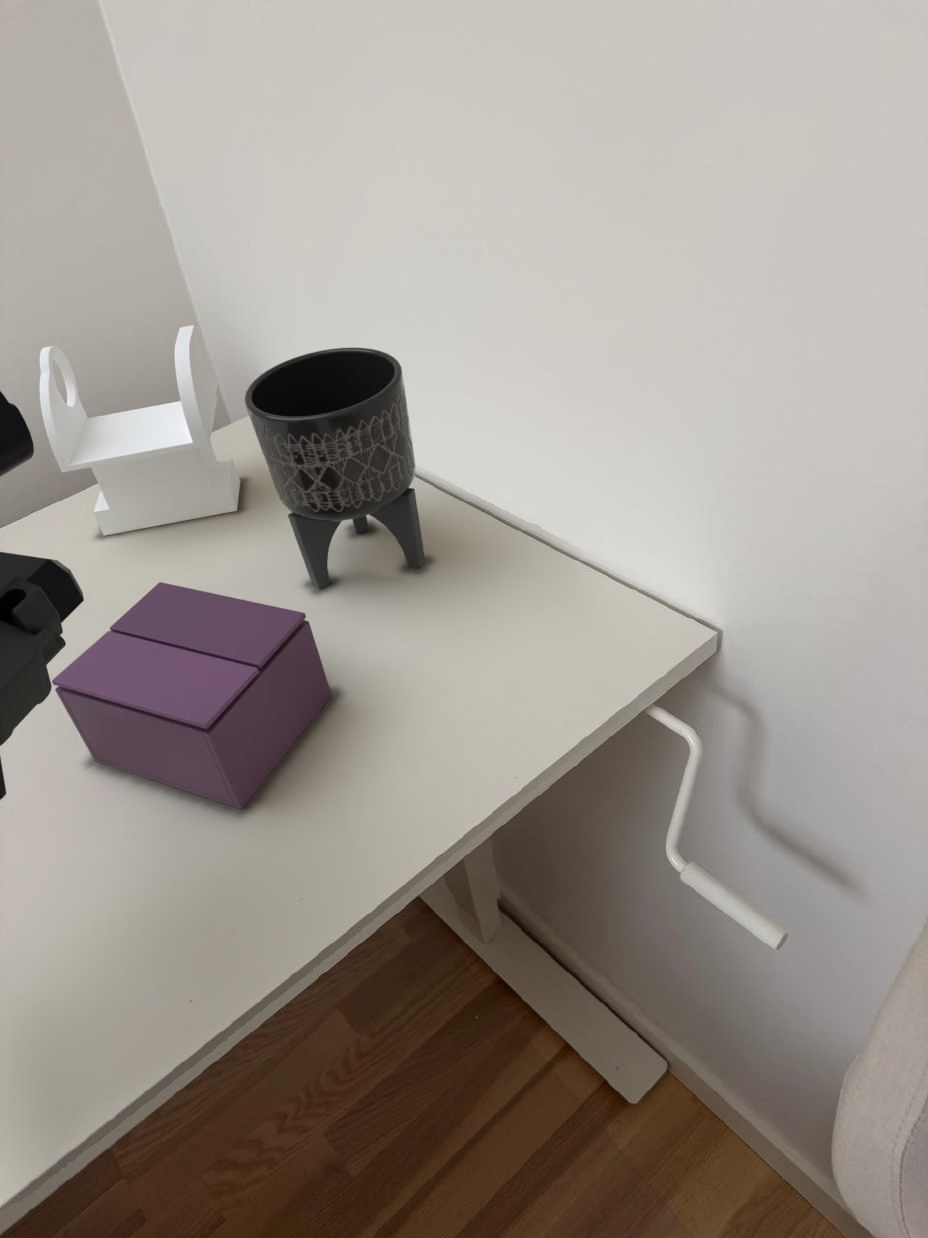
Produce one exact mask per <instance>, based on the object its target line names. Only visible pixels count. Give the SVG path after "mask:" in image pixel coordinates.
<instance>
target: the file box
mask: <svg viewBox="0 0 928 1238" xmlns="http://www.w3.org/2000/svg"><path fill="white" fill-rule="evenodd" d="M306 618H307V615H306V613H305V612H302V611H297V610H293V609H287V608H283V607H279V606H274V605H269V604H265V603H260V602H255V601H250V600H247V599H246V600H245V599H241V598H236V597H232V596H228V595H223V594H218V593H213V592H208V591H205V590H199V589H194V588H190V587H185V586H180V585H175V584H170V583H166V582H162V581H159V582H158V583H157V584H155V585H154V587H152V589H150V590H149V591H148V592H146V594H144V595H143V597H142V598H140V599H139V600H138V601H137V602H136V603H134V605H132V607H131V608H129V609H128V610H127V611H126V612H125V613H124V614H122V616H120V618H119V619H117V620H116V621H115V622H114V623H113V624H112V625H111V626H110V627H109V631H111V632H115V633H119V634H123V635H127V636H131V637H135V638H139V639H143V640H147V641H151V642H155V643H159V644H163V645H167V646H171V647H175V648H179V649H183V650H187V651H191V652H195V653H199V654H203V655H207V656H211V657H215V658H219V659H223V660H228V661H232V662H236V663H240V664H244V665H248V666H252V667H256V668H258V670H259V673H258V674H257V675H256V676H255V677H254V678H253V680H252V681H251V682H250V683H249V684H248V685H247V686H246V687H245V688H244V689H243V690H242V691H241V693H240V694H239V695H238V696H237V697H236V698H235V699H234V700H233V701H232V702H231V703H230V705H229V706H228V707H227V708H226V709H225V710H224V711H223V712H222V713H221V714H220V715H219V717H218V718H217V719H216V720H215V721H214V722H213V723H212V724H211V725H210V726H209V727H208V728H207V729H204V728H201V727H197V726H194V725H191V724H187V723H184V722H180V721H177V720H173V719H170V718H166V717H163V716H160V715H156V714H153V713H149V712H146V711H142V710H139V709H136V708H132V707H129V706H125V705H122V704H118V703H115V702H111V701H108V700H105V699H101V698H98V697H94V696H91V695H87V694H84V693H81V692H77V691H74V690H70V689H67V688H63V687H60V686H56V688H55V689H54V691H55V692H56V695H57V696H58V698H59V700H60V701H61V704H62V705H63V707H64V709H65V710H66V712H67V714H68V716H69V717H70V719H71V722H72V723H73V725H74V726H75V728H76V730H77V732H78V734H79V735H80V737H81V739H82V741H83V743H84V744H85V746H86V748H87V750H88V752H89V754H90V756H91V757H92V759H93V760H94V762H97V763H100V764H103V765H105V766H108V767H111V768H114V769H117V770H121V771H124V772H126V773H130V774H132V775H136V776H139V777H142V778H145V779H148V780H151V781H154V782H157V783H160V784H163V785H165V786H169V787H172V788H175V789H178V790H182V791H185V792H188V793H191V794H194V795H197V796H200V797H202V798H206V799H207V800H208V799H209V800H211V801H215V802H217V803H220V804H224V805H227V806H230V807H233V808H236V809H238V810H242V809H243V808H244V807H245V806H246V804H247V803H248V802H249V801H250V800H251V798H252V797H253V795H254V794H255V793H256V792H257V791H258V789H259V788H260V786H261V785H262V784H264V781H265V780H266V779H267V778H268V777H269V775H270V774H271V773H272V772H273V770H274V769H275V768H276V767H277V765H278V764H279V762H280V761H281V760H282V759H283V757H284V756H285V755H286V754H287V752H288V751H289V750H290V749H291V747H292V746H293V745H294V744H295V742H296V741H297V740H298V738H299V737H300V736H301V735H302V733H303V732H304V731H305V729H306V728H307V727H308V726H309V725H310V723H311V722H312V721H313V719H314V718H315V717H316V716H317V714H318V713H319V712H320V711H321V710H322V708H323V707H324V705H325V704H326V703H327V702H328V700H329V699H330V698H331V697H332V691H331V688H330V685H329V682H328V679H327V678H328V677H327V675H326V672H325V669H324V666H323V663H322V659H321V655H320V653H319V650H318V647H317V642H316V639H315V637H314V633H313V630H312V627H311V624H310V621H309V620H305V619H306Z"/></svg>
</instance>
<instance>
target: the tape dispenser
mask: <svg viewBox="0 0 928 1238" xmlns="http://www.w3.org/2000/svg"><path fill="white" fill-rule="evenodd" d="M174 344H175V345H174V369H175V377H176V383H177V389H178V394H179V400H178V401H173V402H167V403H163V404H158V405H152V406H147V407H141V408H136V409H130V410H125V411H124V410H123V411H120V412H115V413H108V414H104V415H99V416H93V417H88V415H87V413H86V410H85V408H84V406H83V404H82V401H81V399H80V395H79V389H78V385H77V384H78V383H77V380H76V377H75V374H74V372H73V371H74V370H73V368H72V366H71V364H70V362H69V359H68V358H67V356H66V354H65V353H64V351H63V350H61V348H59V347H58V346H56V345H50V346H45V347H43V348H42V349H41V350H40V352H39V371H40V377H39V402H40V410H41V415H42V421H43V425H44V430H45V432H46V437H47V439H48V443H49V445H50V449H51V450H52V453H53V455H54V458H55V460H56V463H57V465H58V467H59V469H60V471H61V473H67V472H73V471H78V470H83V469H89V468H90V469H91V470H92V473H93V475H94V477H95V480H96V482H97V484H98V486H99V489H100V490H99V491H100V492H99V494H98V497H97V501H96V503H95V506H94V509H93V515H94V517H95V519H96V521H97V524H98V526H99V528H100V530H101V533H102V535H103V537H104V536H109V535H116V534H120V533H126V532H131V531H136V530H142V529H147V528H152V527H157V526H162V525H169V524H173V523H179V522H185V521H189V520H195V519H200V518H206V517H211V516H217V515H220V514H226V513H227V514H228V513H232V512H237V511H238V505H239V496H240V488H241V480H240V477H239V474H238V471H237V468H236V465H235V461H234V459H233V458H228V459H223V460H217V457H216V453H215V451H214V448H213V445H212V443H211V438H212V434H213V427H214V423H215V422H214V421H215V416H216V412H217V411H216V410H217V404H218V396H217V391H218V390H217V389H218V384H219V382H218V379H217V376H216V372H215V369H214V366H213V363H212V360H211V357H210V355H209V351H208V348H207V345H206V341H205V339H204V336H203V334H202V331H201V329H200V328H199V326H198V325H197V324H191V325H186V326H181V327H179V329H178V333H177V336H176V340H175V343H174ZM54 362H55V364H56V365H57V367H58V369H59V371H60V373H61V376H62V378H63V379H62V380H63V382H64V385H65V386H64V387H65V390H66V402H65V401H64V399H63V396H62V395H61V393H60V390H59V389H58V388H59V387H58V385H57V383H56V379H55V375H54V367H53V365H54V364H53V363H54Z"/></svg>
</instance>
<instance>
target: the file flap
mask: <svg viewBox="0 0 928 1238" xmlns="http://www.w3.org/2000/svg"><path fill="white" fill-rule="evenodd" d="M258 673H259V670H258V668H256V667H252V666H248V665H244V664H240V663H236V662H232V661H228V660H223V659H219V658H215V657H211V656H207V655H203V654H199V653H195V652H191V651H187V650H183V649H179V648H175V647H171V646H167V645H163V644H159V643H155V642H151V641H147V640H143V639H139V638H135V637H131V636H127V635H123V634H119V633H115V632H111V630H108V631H106V632H105V633H104V634H103V635H102V636H101V637H100V638H98V639H97V640H95V642H94V643H92V644H91V646H89V647H88V648H87V649H86V650H85V651H83V652H82V653H81V654H80V655H79V656H78V657H76V659H75V660H73V661H72V662H71V663H70V664H69V665H67V666H66V668H64V669H63V670H62V671H61V672H60V673H58V675H56V676H55V677H54V678H53V679H51V684H53V685H54V686H56V687H58V686H60V687H63V688H67V689H70V690H74V691H77V692H81V693H84V694H87V695H91V696H94V697H98V698H101V699H105V700H108V701H111V702H115V703H118V704H122V705H125V706H129V707H132V708H136V709H139V710H142V711H146V712H149V713H153V714H156V715H160V716H163V717H166V718H170V719H173V720H177V721H180V722H184V723H187V724H191V725H194V726H197V727H201V728H204V729H207V728H208V727H209V726H210V725H211V724H212V723H213V722H214V721H215V720H216V719H217V718H218V717H219V715H220V714H221V713H222V712H223V711H224V710H225V709H226V708H227V707H228V706H229V705H230V703H231V702H232V701H233V700H234V699H235V698H236V697H237V696H238V695H239V694H240V693H241V691H242V690H243V689H244V688H245V687H246V686H247V685H248V684H249V683H250V682H251V681H252V680H253V678H254V677H255V676H256V675H257V674H258Z"/></svg>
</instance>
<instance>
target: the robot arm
mask: <svg viewBox="0 0 928 1238" xmlns="http://www.w3.org/2000/svg"><path fill="white" fill-rule="evenodd" d="M34 453H35V447H34V440H33V437H32V434H31V431H30V429H29V426H28V424H27V422H26V420H25V418H24V417H23V414H22V412H21V411H20V410H19V408H18V406H16V405H15V404H14V403H11V402H9V400H8V398H7V397H6V396H5V395H4V393H3V392H2V391H1V390H0V478H1V477H3V476H4V475H6V474H8V473H10V472H11V471H12V470H14V469H16V468H18V467H19V466H21V465H22V464H24V463H26V462H27V461H29V460H30V459H32V458H33V456H34ZM84 601H85V597H84V592H83V590H82V588H81V587H80V585H79V583H78V581H77V579H76V578H75V576H74V574H73V572H72V570H71V569H70V568H69V567H67V566H66V565H65V564H64V563H62V562H60V561H59V560H58V559H53V558H45V557H39V556H31V555H27V554H26V555H25V554H18V553H13V552H12V553H11V552H5V551H0V747H1V746H3V745H4V744H5V743H7V741H8V740H9V739H10V738H11V737H12V735H13V732H14V730H15V729H16V728H17V727H18V726H19V725H20V723H22V722H23V720H25V718H26V717H27V716H28V715H29V714H30V713H31V712H32V711H33V710H34V709H35V707H36V706H37V705H40V704H43V702H44V701H45V700H46V699H47V698H48V697H49V695H50V693H51V692H52V680H51V678H50V673H49V670H48V666H47V665H48V664H50V662H52V660H53V659H54V658H55V657H56V656H57V655H58V654H59V653H60V652H61V650H63V649H64V648H65V647H66V645H67V642H66V640H65V639H64V637H63V636H61V635H62V634H63V633H64V630H63V625H62V623H63V622H64V621H65V620H66V619H68V617H70V616H71V614H73V612H74V611H75V610H76V609H78V607H79V606H80V605H81V604H82V603H83V602H84ZM6 788H7V787H6V783H5V776H4V769H3V764H2V756H0V802H1V800H3V799H4V798H5V797H6V795H7V789H6Z"/></svg>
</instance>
